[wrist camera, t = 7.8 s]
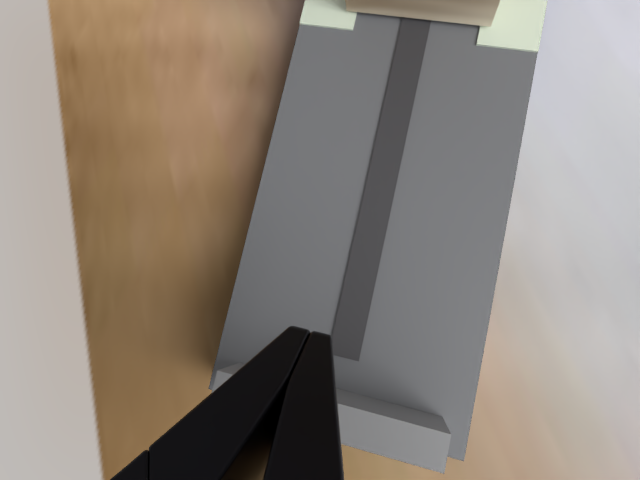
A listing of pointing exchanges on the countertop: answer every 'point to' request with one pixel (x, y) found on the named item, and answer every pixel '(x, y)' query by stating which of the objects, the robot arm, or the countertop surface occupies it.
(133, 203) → the countertop surface
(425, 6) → the wooden rectangular block
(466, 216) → the grooved grey tray
